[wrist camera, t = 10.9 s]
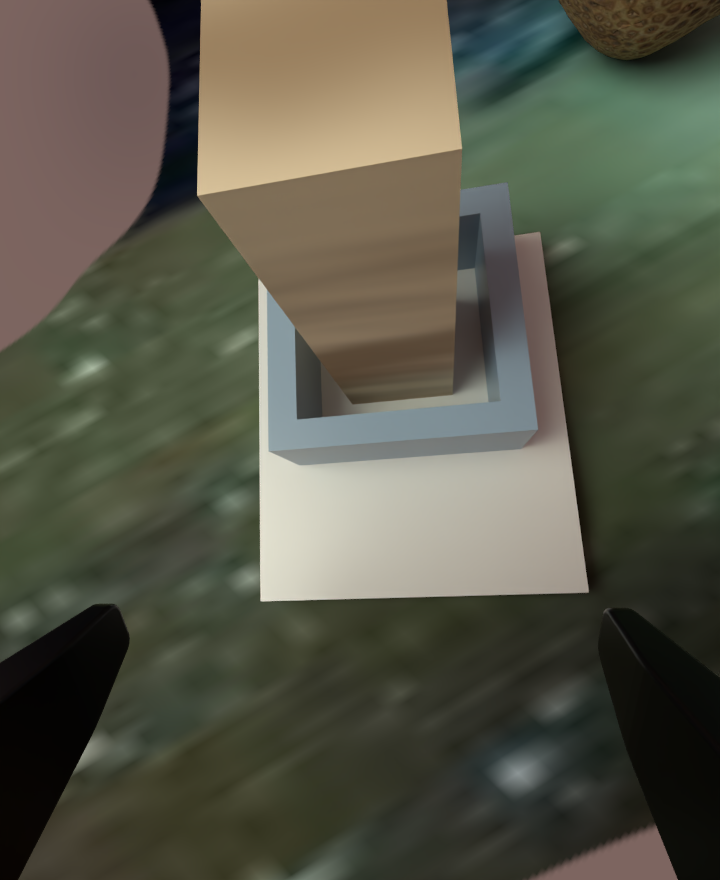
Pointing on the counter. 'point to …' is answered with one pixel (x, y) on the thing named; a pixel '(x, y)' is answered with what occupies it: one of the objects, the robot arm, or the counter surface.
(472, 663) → the counter surface
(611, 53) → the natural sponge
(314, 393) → the well board
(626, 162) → the counter surface
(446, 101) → the wooden post
